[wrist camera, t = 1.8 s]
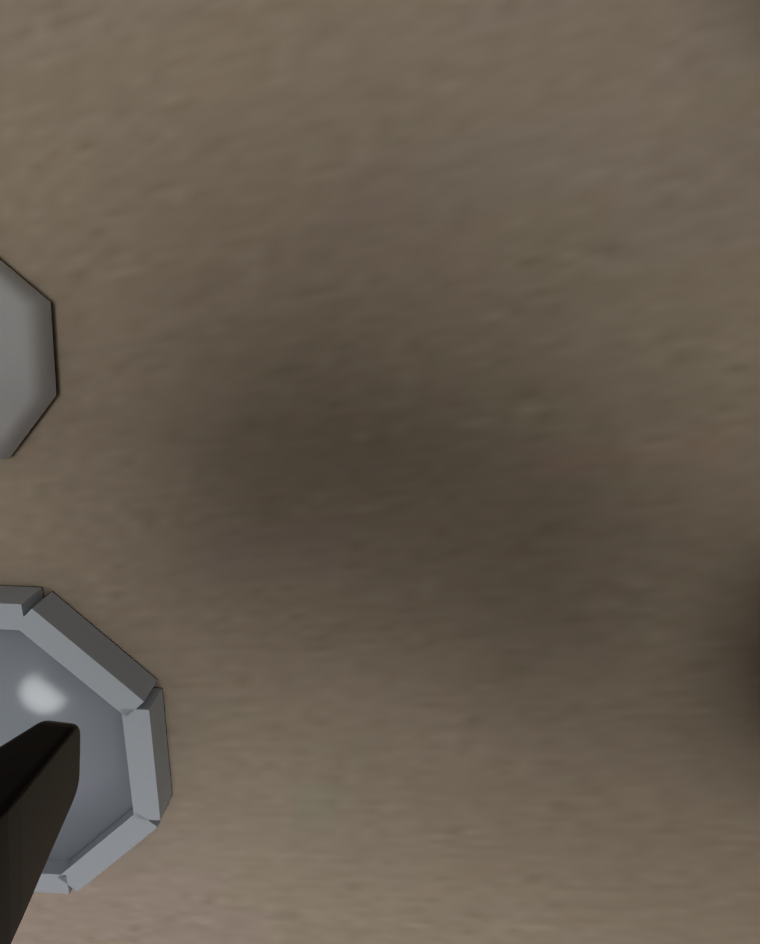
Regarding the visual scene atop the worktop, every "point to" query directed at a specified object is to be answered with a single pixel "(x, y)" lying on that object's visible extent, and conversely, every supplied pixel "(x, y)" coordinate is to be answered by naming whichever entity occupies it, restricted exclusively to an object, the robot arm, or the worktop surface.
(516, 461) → the worktop surface
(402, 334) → the worktop surface
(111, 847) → the rimmed tray
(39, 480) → the worktop surface
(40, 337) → the flask
